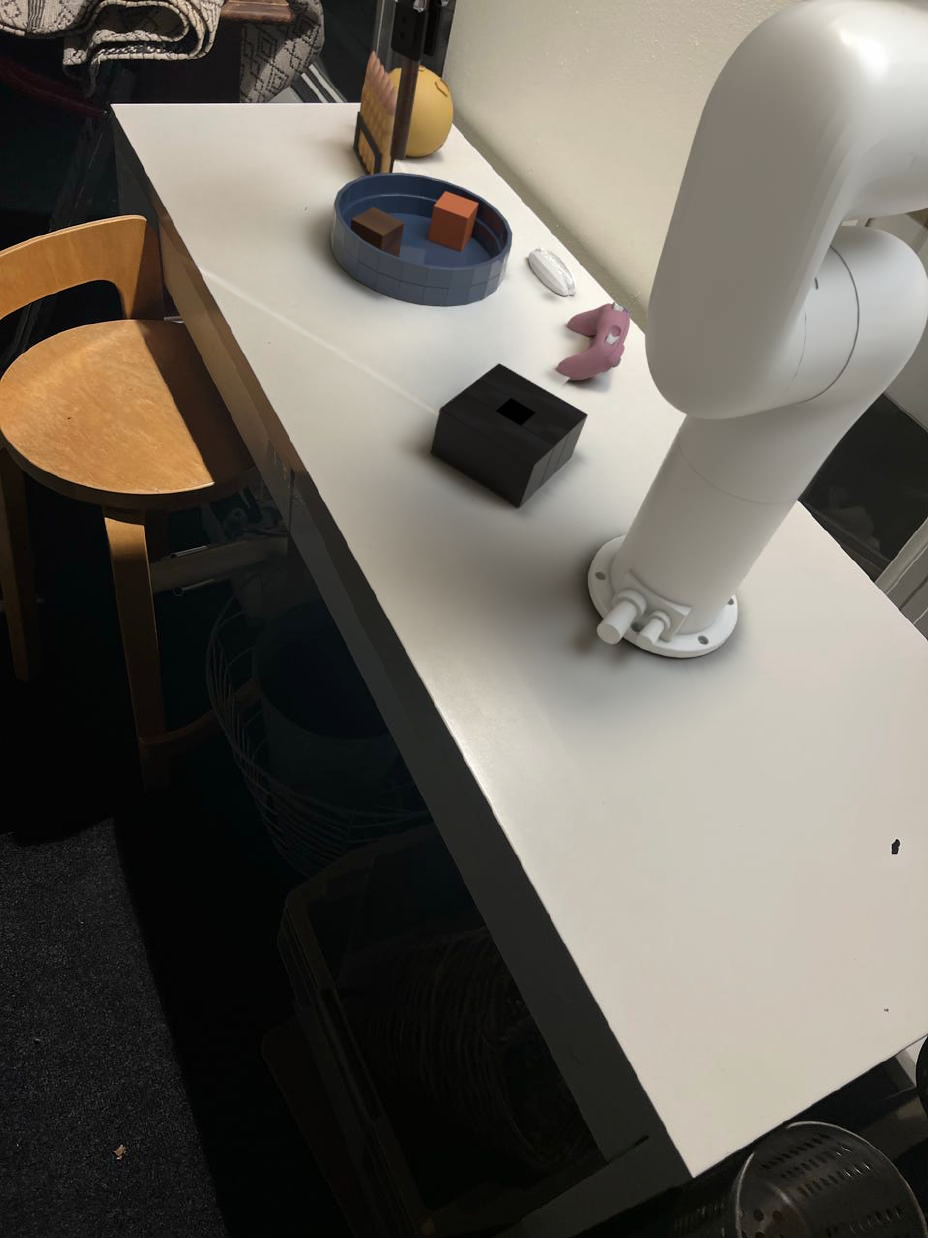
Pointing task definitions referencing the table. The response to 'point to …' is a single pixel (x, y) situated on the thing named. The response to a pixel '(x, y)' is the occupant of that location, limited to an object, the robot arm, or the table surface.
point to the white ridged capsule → (553, 271)
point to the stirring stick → (404, 106)
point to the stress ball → (427, 113)
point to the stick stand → (507, 434)
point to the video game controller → (597, 341)
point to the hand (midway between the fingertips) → (413, 51)
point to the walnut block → (379, 230)
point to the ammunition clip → (375, 120)
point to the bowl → (420, 242)
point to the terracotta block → (452, 221)
